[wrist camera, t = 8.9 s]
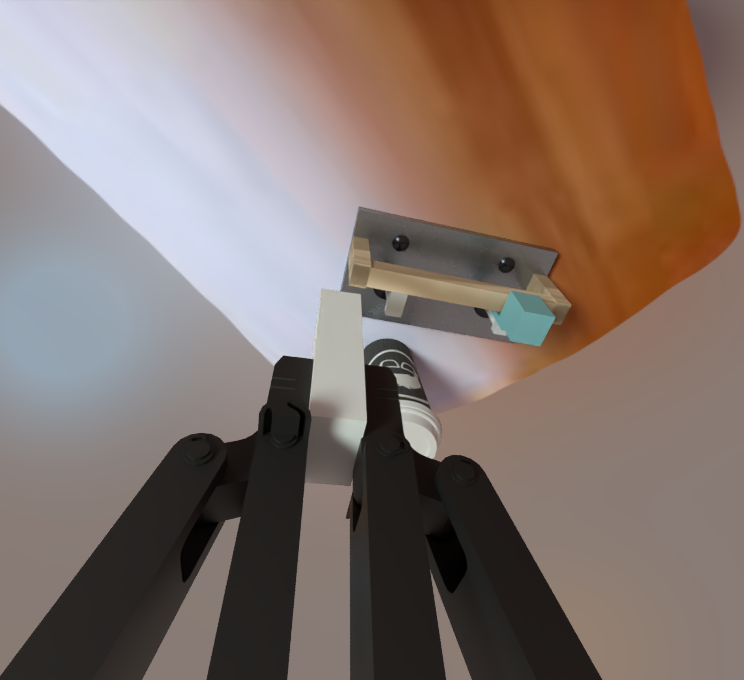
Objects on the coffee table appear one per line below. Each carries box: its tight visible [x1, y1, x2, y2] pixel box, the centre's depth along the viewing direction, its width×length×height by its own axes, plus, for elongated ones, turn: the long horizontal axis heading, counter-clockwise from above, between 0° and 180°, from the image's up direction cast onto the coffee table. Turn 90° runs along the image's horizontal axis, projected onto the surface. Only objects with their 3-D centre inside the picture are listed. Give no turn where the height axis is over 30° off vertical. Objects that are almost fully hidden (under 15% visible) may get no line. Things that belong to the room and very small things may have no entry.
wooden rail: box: [349, 236, 571, 325], centre depth 46 cm, size 5×22×6 cm, turn 77°
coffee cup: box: [364, 339, 442, 459], centre depth 50 cm, size 10×10×15 cm
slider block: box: [485, 291, 556, 346], centre depth 45 cm, size 6×3×10 cm, turn 167°
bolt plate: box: [341, 207, 558, 343], centre depth 50 cm, size 12×22×1 cm, turn 77°
